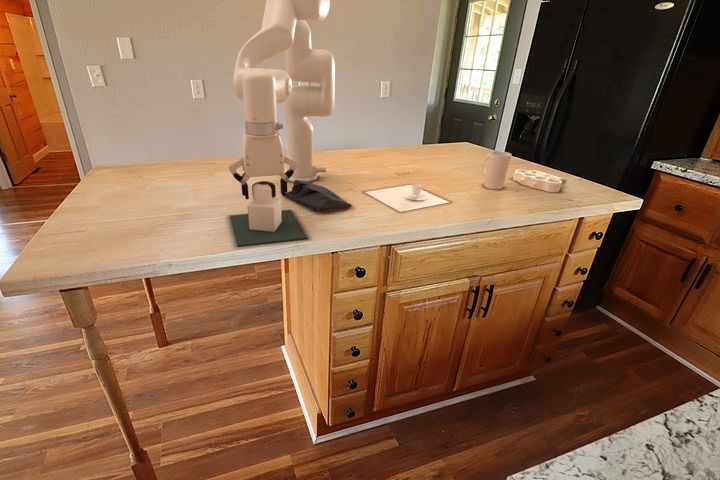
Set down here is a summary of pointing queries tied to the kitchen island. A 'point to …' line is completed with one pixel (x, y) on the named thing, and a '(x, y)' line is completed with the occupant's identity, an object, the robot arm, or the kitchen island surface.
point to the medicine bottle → (264, 207)
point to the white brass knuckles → (539, 180)
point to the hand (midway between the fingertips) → (265, 196)
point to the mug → (496, 169)
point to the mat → (284, 232)
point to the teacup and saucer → (406, 197)
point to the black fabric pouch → (316, 197)
